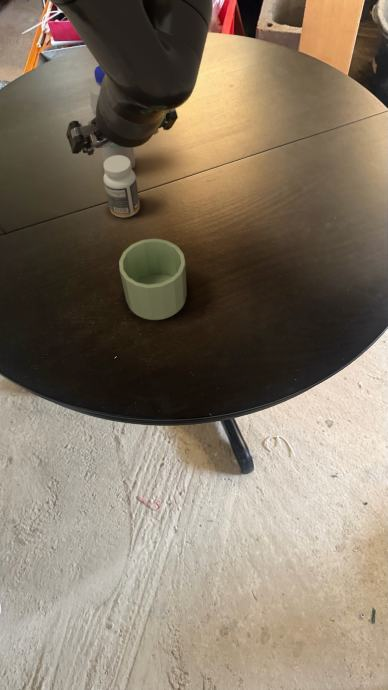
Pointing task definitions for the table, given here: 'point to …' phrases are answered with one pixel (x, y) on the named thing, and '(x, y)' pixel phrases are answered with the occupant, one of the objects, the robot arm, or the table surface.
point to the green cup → (154, 278)
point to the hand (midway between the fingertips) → (116, 140)
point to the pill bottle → (121, 186)
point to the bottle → (94, 95)
